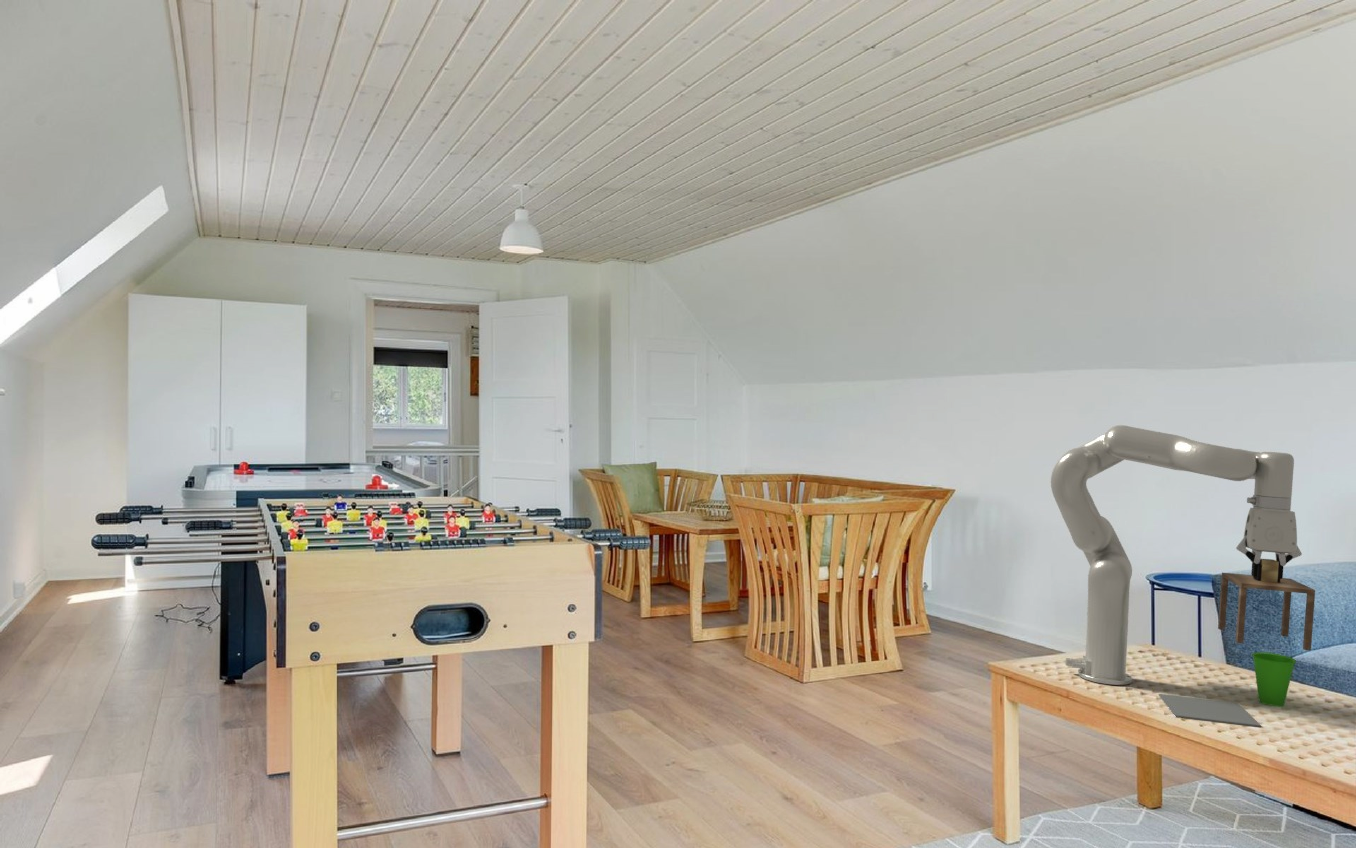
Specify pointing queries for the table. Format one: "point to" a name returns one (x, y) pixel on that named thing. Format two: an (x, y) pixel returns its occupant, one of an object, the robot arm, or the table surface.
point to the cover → (1267, 583)
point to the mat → (1208, 710)
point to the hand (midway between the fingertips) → (1266, 579)
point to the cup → (1272, 677)
